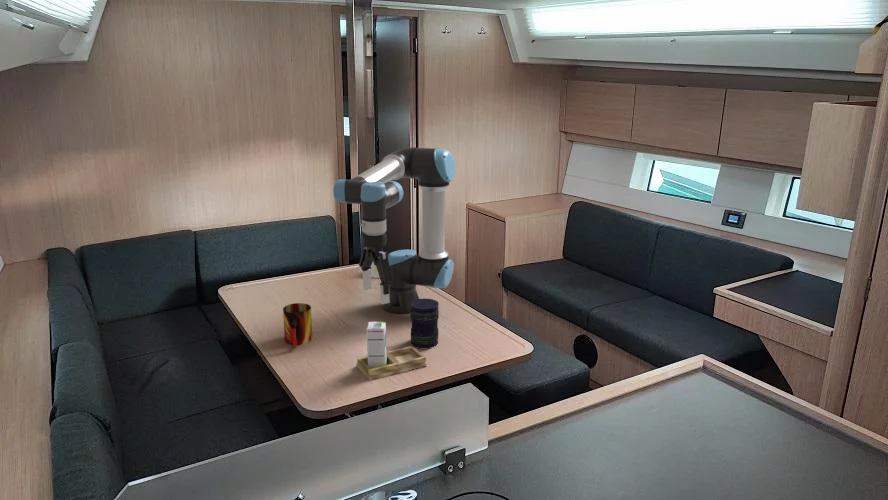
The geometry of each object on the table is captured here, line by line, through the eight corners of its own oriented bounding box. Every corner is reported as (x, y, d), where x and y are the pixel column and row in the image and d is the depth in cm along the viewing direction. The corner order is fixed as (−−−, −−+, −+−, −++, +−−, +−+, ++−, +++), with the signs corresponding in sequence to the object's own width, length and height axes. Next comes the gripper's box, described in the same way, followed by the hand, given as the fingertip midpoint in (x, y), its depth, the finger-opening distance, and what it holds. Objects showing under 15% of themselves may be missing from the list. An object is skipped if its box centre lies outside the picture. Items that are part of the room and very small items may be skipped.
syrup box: (385, 370, 206) (385, 328, 202) (367, 370, 206) (366, 328, 202) (387, 362, 212) (386, 321, 208) (368, 362, 212) (368, 321, 208)
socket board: (411, 353, 221) (411, 345, 220) (426, 366, 212) (426, 358, 211) (356, 365, 211) (356, 357, 210) (370, 380, 202) (369, 371, 201)
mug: (293, 351, 221) (291, 319, 217) (281, 337, 232) (279, 306, 229) (320, 346, 226) (319, 314, 222) (306, 331, 237) (305, 301, 233)
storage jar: (428, 351, 223) (428, 310, 218) (405, 344, 228) (404, 304, 223) (443, 341, 231) (444, 302, 227) (420, 334, 236) (421, 296, 232)
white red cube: (370, 277, 297) (370, 261, 294) (375, 272, 304) (374, 256, 302) (387, 278, 295) (387, 262, 293) (391, 273, 303) (391, 257, 301)
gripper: (347, 224, 209) (350, 286, 215) (380, 244, 188) (381, 311, 195) (368, 221, 212) (370, 282, 219) (403, 240, 192) (404, 307, 198)
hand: (375, 296), depth 207 cm, fingers open, 13 cm apart
